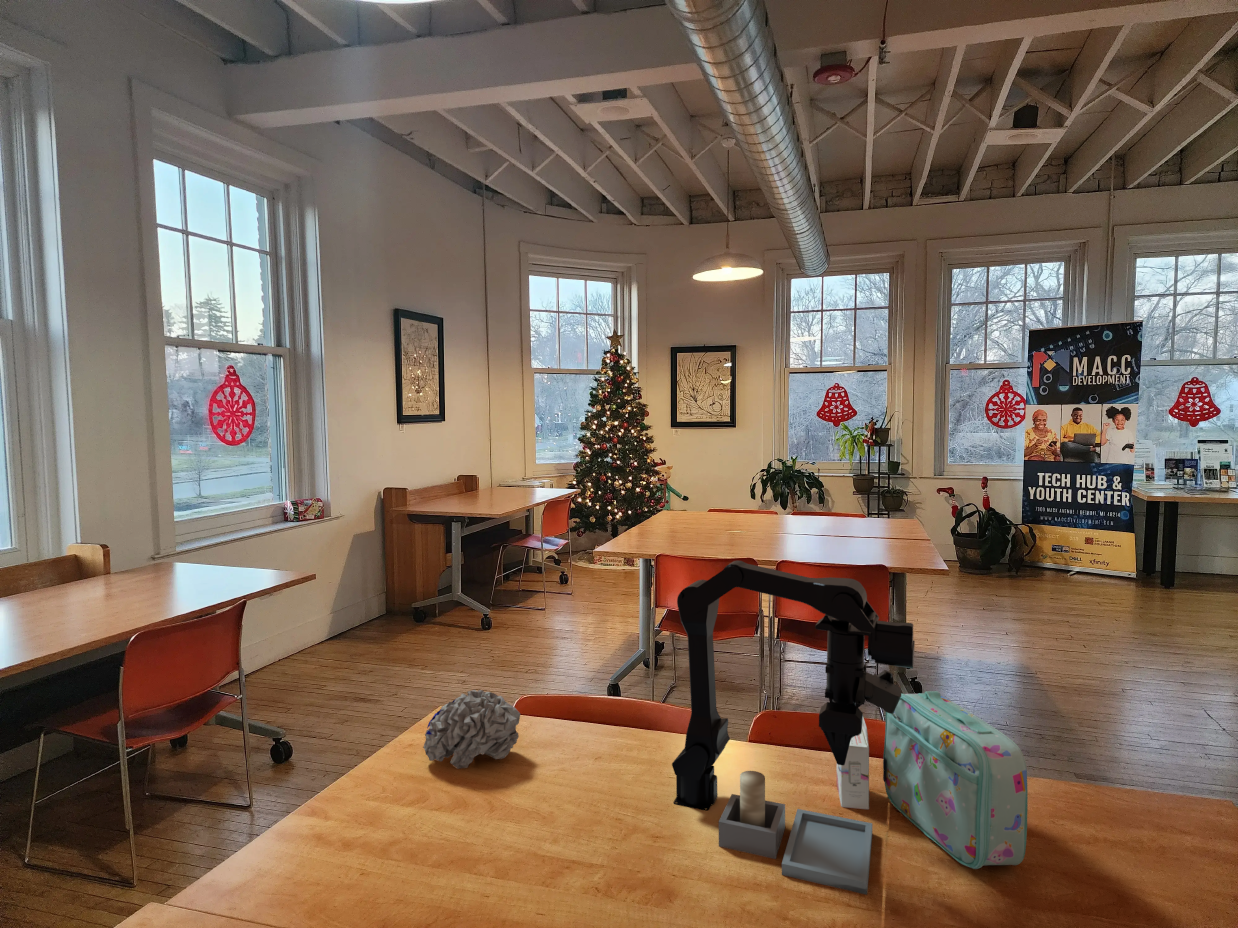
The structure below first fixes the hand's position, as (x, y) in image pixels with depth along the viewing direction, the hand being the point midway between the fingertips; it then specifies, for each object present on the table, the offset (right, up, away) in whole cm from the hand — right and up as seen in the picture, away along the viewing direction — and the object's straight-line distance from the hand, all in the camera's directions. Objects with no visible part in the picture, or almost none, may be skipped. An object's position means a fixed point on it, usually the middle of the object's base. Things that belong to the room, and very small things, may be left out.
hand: (843, 751), depth 114 cm
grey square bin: (-15, -14, 0) cm, 21 cm away
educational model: (-67, -14, +29) cm, 74 cm away
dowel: (-15, -14, 0) cm, 20 cm away
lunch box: (+17, -14, +1) cm, 22 cm away
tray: (-4, -14, -5) cm, 16 cm away
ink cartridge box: (+5, -14, +12) cm, 19 cm away
